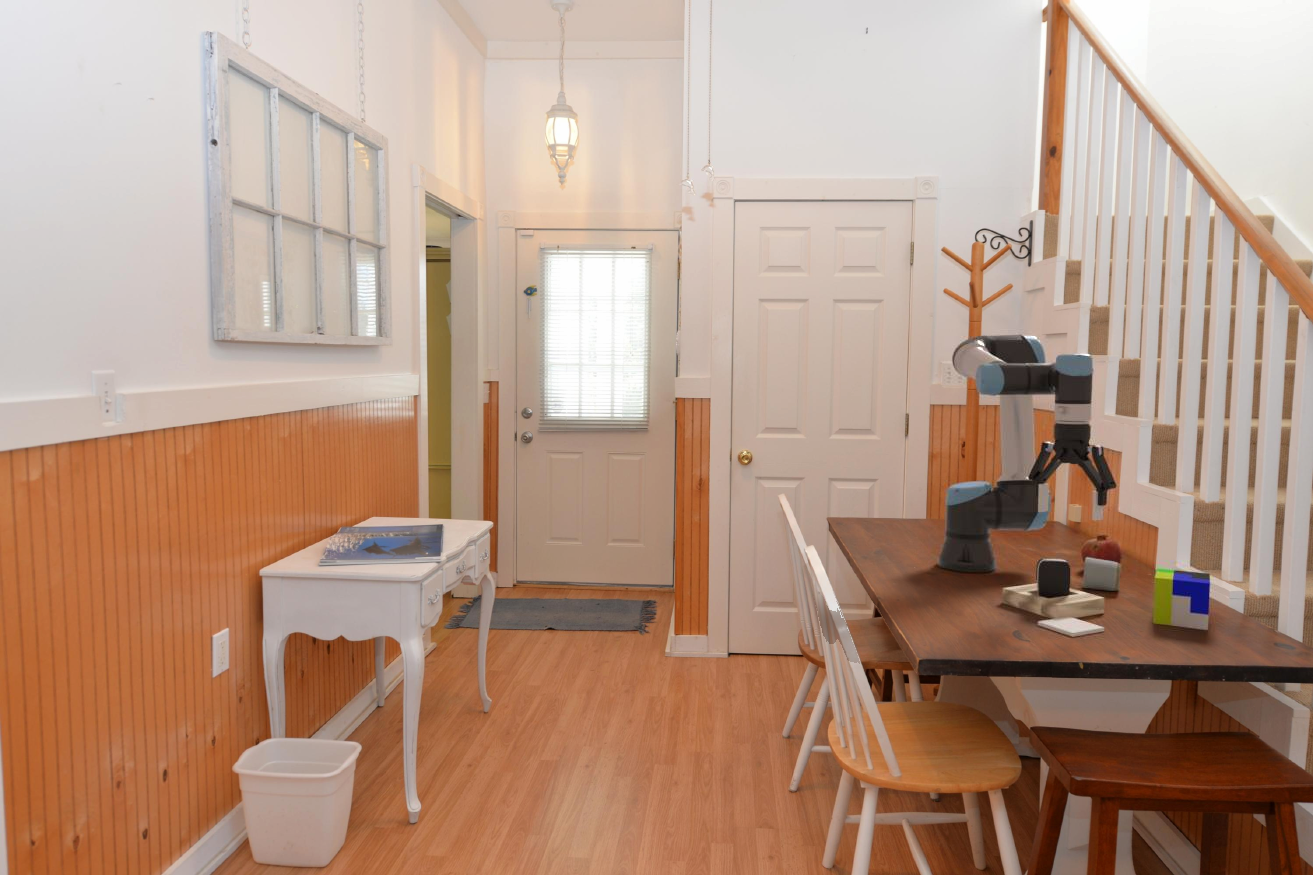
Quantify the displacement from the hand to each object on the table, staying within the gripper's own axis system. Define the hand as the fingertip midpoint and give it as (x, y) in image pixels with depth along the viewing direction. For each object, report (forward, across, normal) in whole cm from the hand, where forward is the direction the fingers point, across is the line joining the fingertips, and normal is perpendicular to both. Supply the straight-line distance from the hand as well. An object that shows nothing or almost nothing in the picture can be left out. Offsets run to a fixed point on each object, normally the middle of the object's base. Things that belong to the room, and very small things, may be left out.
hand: (1069, 515), depth 199 cm
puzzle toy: (+22, +19, +12) cm, 31 cm away
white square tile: (+21, +10, -14) cm, 27 cm away
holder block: (+21, -2, -3) cm, 22 cm away
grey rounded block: (+22, -7, +23) cm, 32 cm away
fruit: (+22, -17, +39) cm, 48 cm away
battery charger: (+22, -2, -3) cm, 22 cm away
